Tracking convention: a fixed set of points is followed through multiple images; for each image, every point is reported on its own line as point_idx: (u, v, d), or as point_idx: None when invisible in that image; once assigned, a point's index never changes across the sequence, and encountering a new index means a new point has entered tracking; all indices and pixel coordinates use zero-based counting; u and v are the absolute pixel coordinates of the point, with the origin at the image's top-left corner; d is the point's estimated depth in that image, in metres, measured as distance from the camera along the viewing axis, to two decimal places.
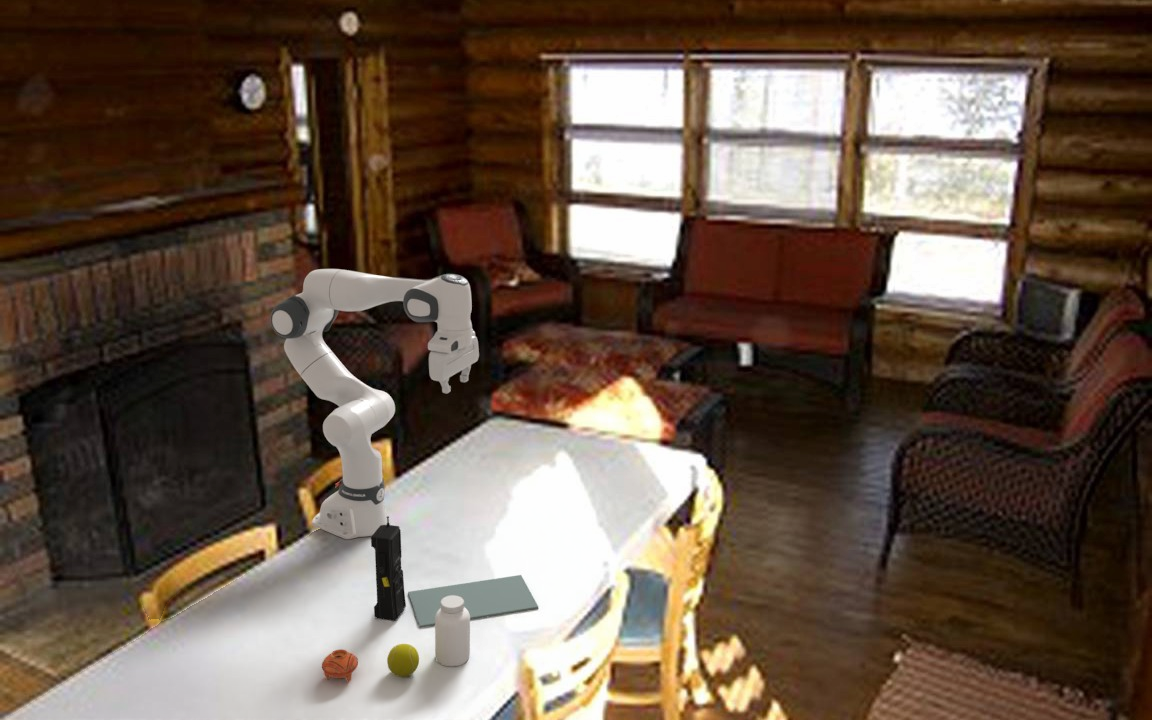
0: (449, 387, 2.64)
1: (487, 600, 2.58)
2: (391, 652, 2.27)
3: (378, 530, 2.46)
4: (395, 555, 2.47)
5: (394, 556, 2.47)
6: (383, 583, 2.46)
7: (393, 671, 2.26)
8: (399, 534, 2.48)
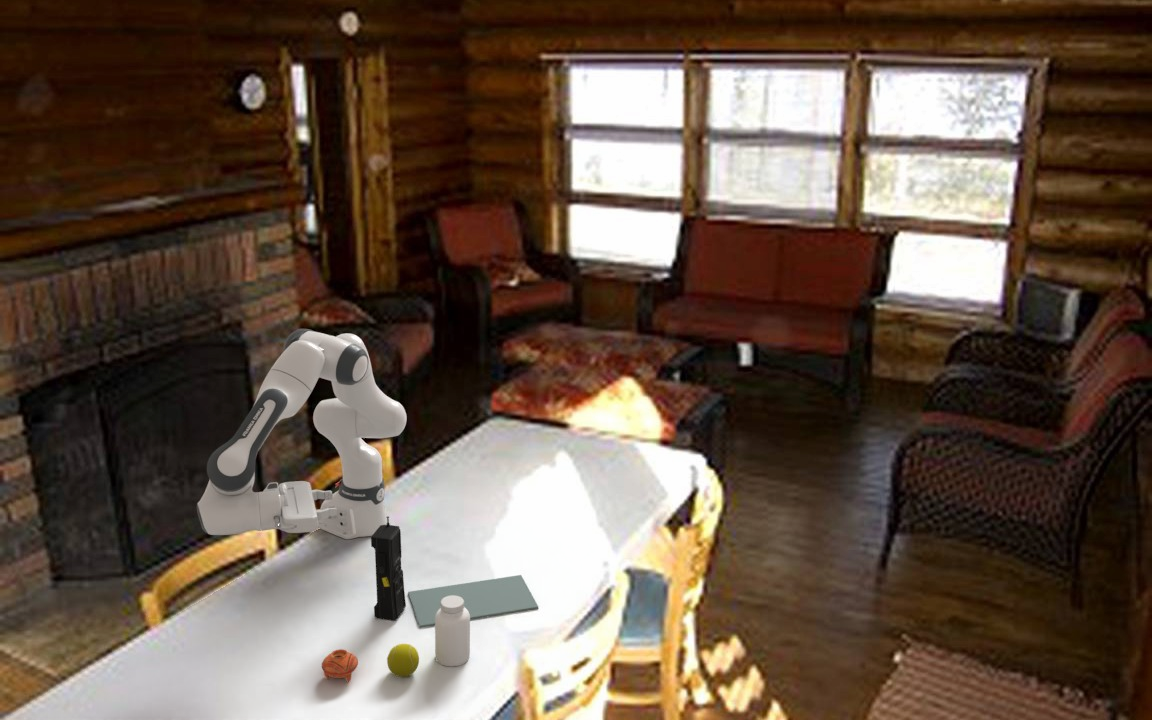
0: None
1: (487, 600, 2.58)
2: (391, 652, 2.27)
3: (378, 530, 2.46)
4: (395, 555, 2.47)
5: (394, 556, 2.46)
6: (383, 583, 2.46)
7: (393, 671, 2.26)
8: (399, 534, 2.48)
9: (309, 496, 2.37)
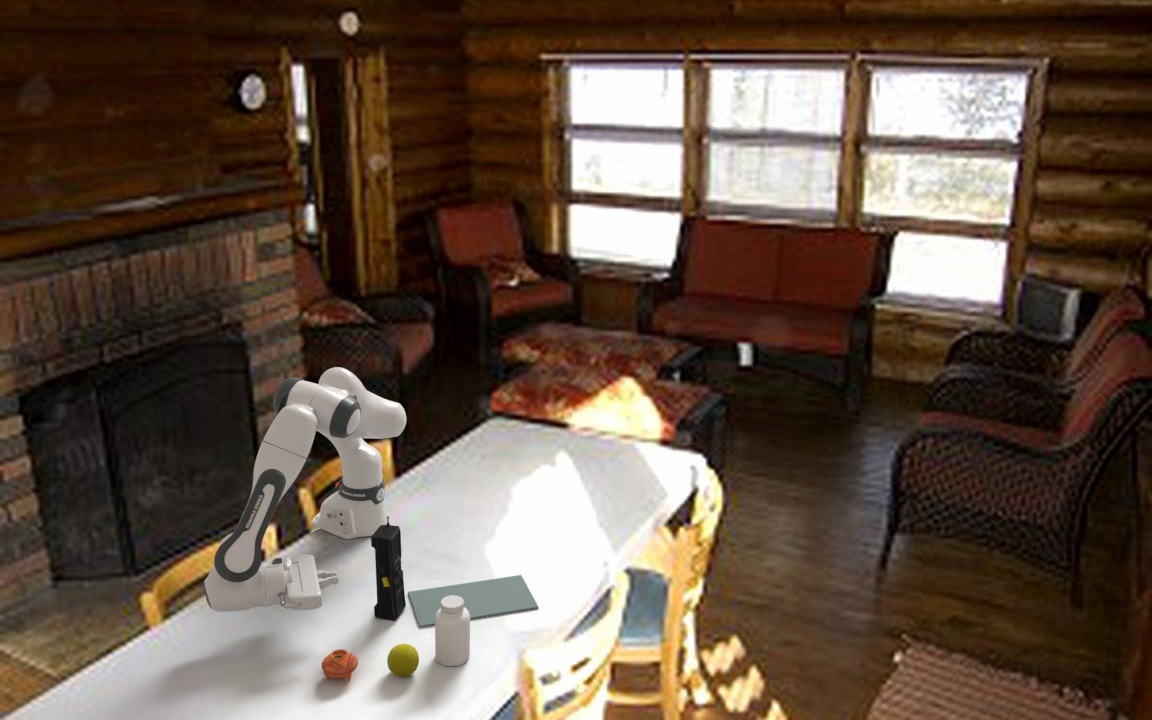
0: None
1: (487, 600, 2.58)
2: (391, 652, 2.27)
3: (378, 530, 2.46)
4: (395, 555, 2.47)
5: (394, 556, 2.47)
6: (383, 583, 2.46)
7: (393, 671, 2.26)
8: (399, 534, 2.48)
9: (313, 571, 2.43)
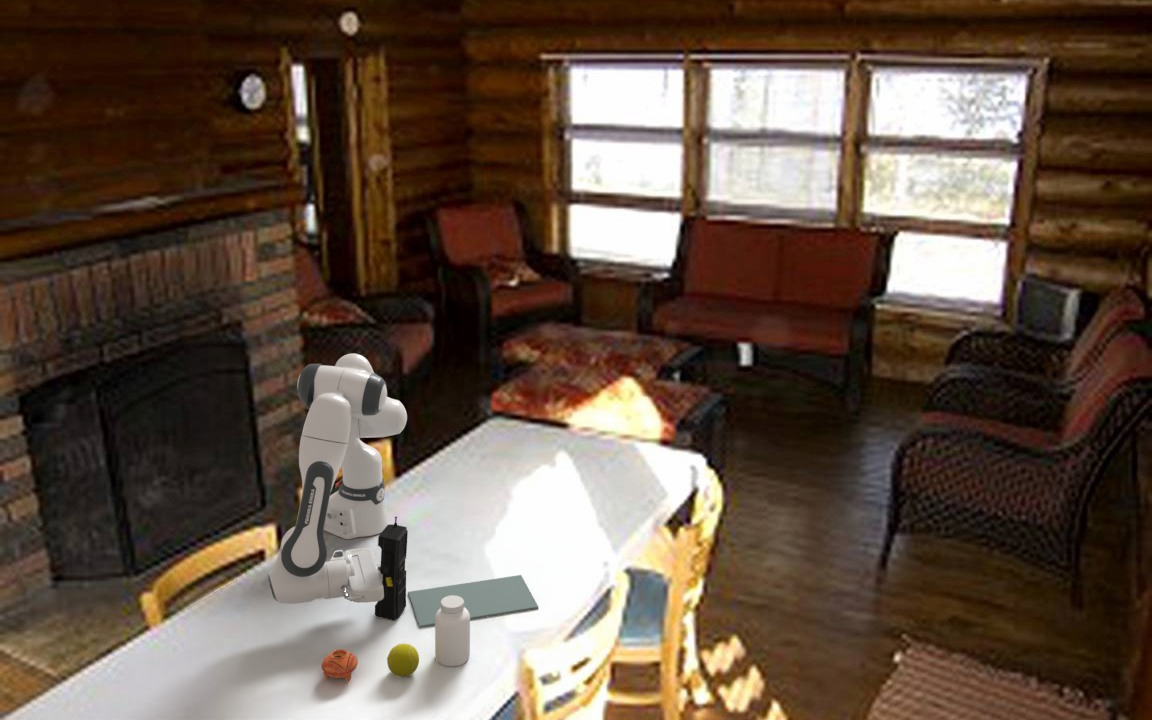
0: None
1: (487, 600, 2.58)
2: (391, 652, 2.27)
3: (385, 530, 2.46)
4: (401, 556, 2.47)
5: (399, 557, 2.46)
6: (386, 583, 2.46)
7: (393, 671, 2.26)
8: (406, 535, 2.48)
9: (373, 564, 2.48)
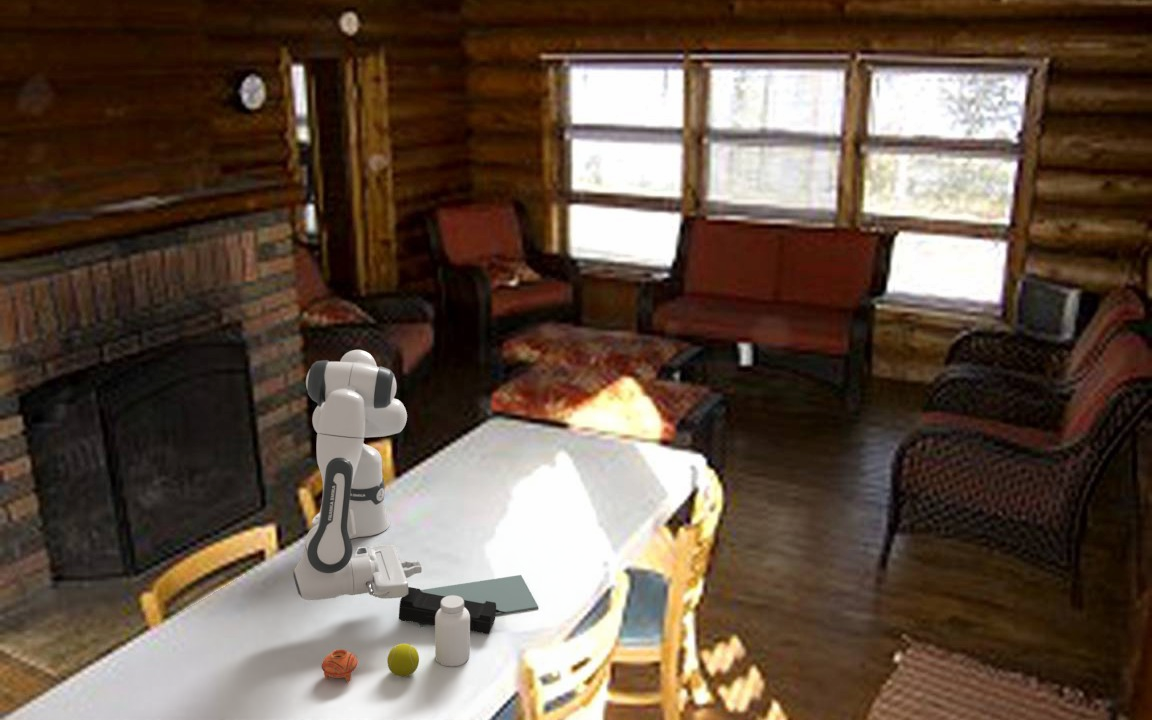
0: None
1: (487, 600, 2.58)
2: (391, 652, 2.27)
3: (493, 611, 2.46)
4: None
5: None
6: None
7: (393, 671, 2.26)
8: None
9: (397, 561, 2.50)
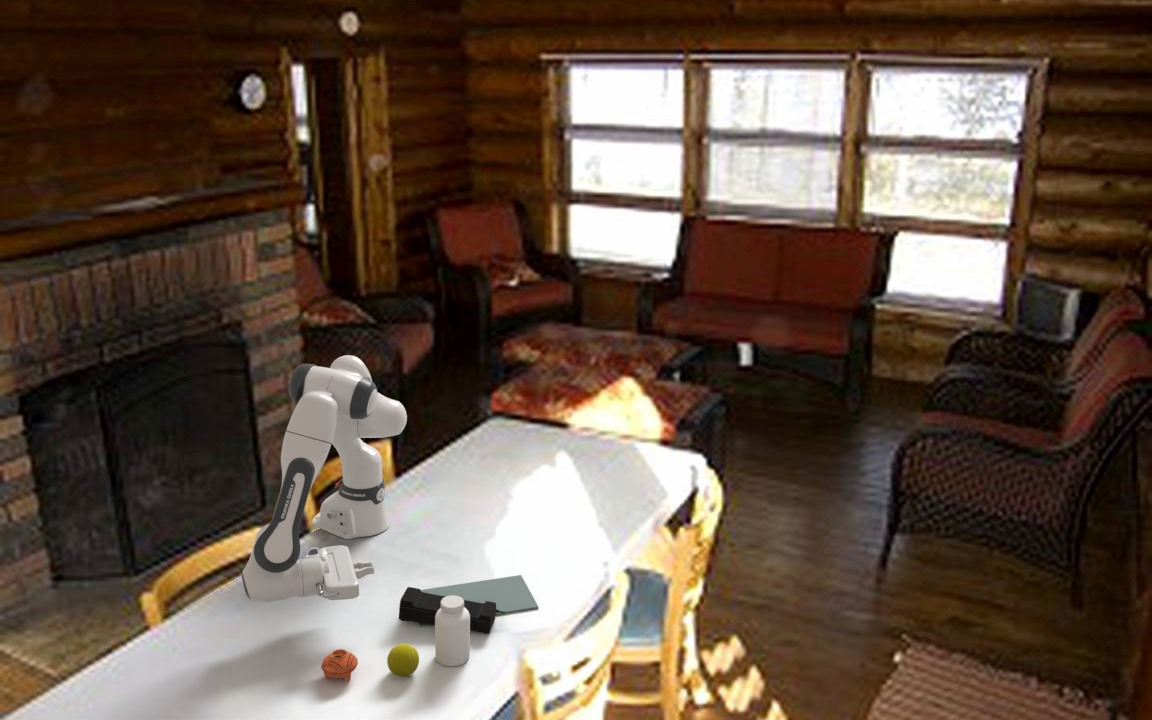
0: None
1: (487, 600, 2.58)
2: (391, 652, 2.27)
3: (493, 611, 2.46)
4: None
5: None
6: None
7: (393, 671, 2.26)
8: None
9: (349, 562, 2.45)
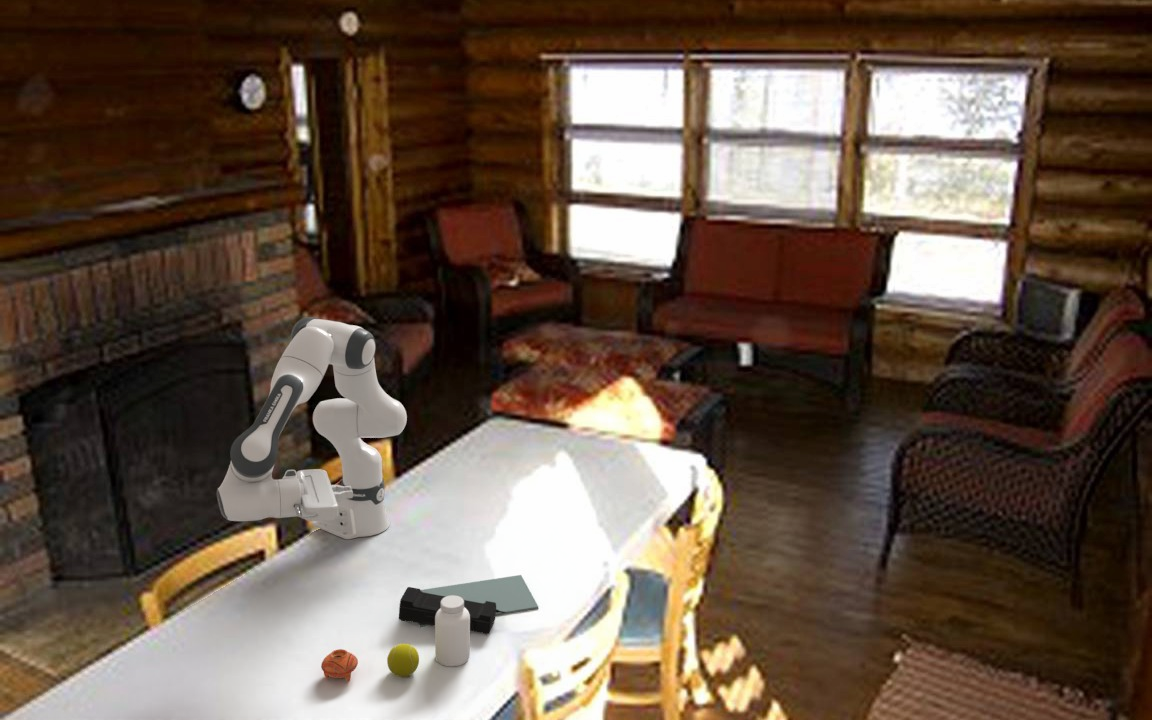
0: None
1: (487, 600, 2.58)
2: (391, 652, 2.27)
3: (493, 611, 2.46)
4: None
5: None
6: None
7: (393, 671, 2.26)
8: None
9: (327, 485, 2.39)
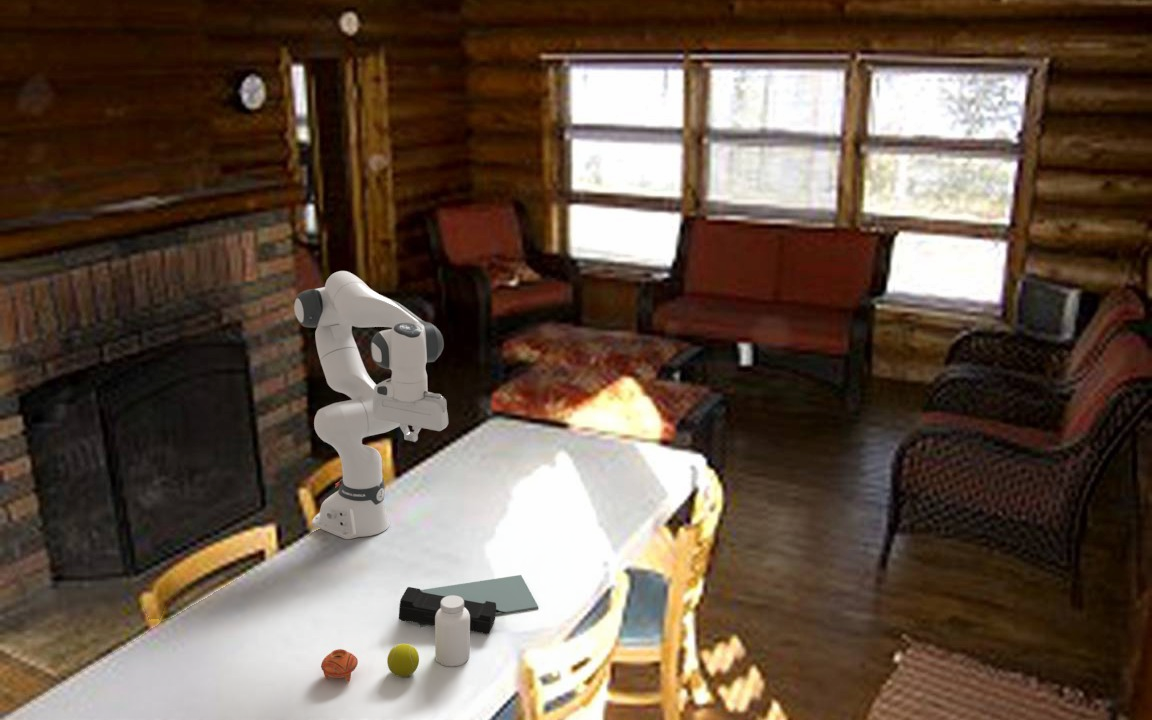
0: (406, 435, 2.56)
1: (487, 600, 2.58)
2: (391, 652, 2.27)
3: (493, 611, 2.46)
4: None
5: None
6: None
7: (393, 671, 2.26)
8: None
9: None
